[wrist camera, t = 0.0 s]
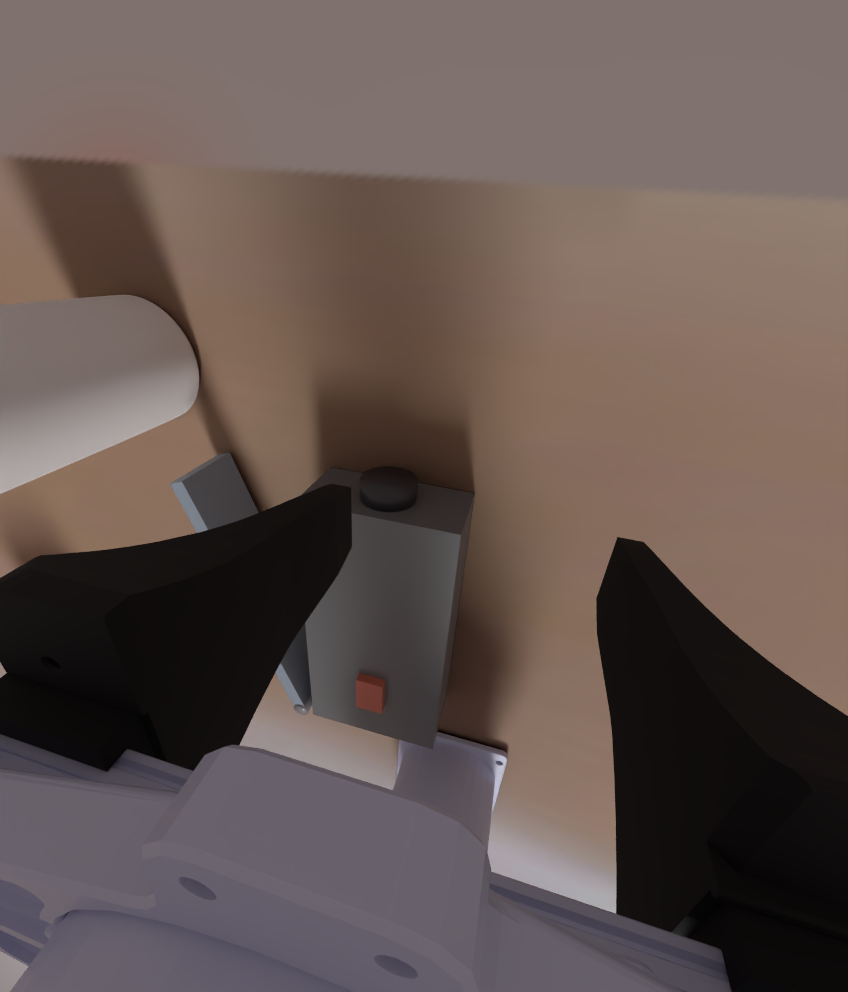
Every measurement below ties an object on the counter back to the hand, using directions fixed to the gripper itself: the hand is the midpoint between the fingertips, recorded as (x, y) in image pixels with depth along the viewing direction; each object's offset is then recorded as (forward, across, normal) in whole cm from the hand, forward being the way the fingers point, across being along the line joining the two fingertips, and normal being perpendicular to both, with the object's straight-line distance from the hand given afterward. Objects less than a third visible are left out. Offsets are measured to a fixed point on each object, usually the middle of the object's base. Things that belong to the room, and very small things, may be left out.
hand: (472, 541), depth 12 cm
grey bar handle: (+10, +13, +12) cm, 20 cm away
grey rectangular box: (+10, +5, +12) cm, 16 cm away
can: (+10, +19, -1) cm, 22 cm away
